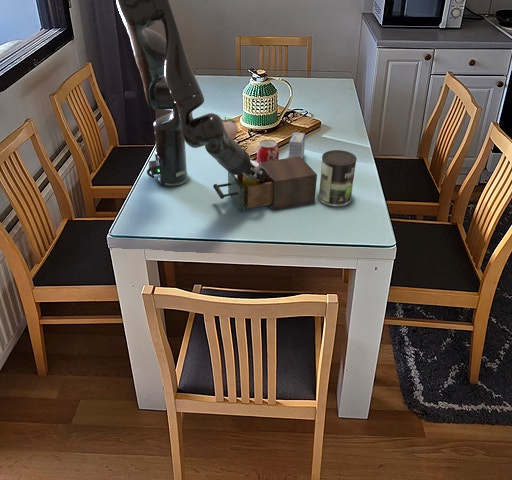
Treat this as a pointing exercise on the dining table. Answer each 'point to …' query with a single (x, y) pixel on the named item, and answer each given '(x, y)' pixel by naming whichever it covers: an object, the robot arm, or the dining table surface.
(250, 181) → the supplement bottle
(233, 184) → the drawer
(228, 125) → the decorative fruit
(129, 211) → the dining table surface
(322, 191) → the coffee can
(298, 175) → the cabinet
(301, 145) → the medicine box
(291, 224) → the dining table surface
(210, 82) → the dining table surface
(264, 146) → the soda can
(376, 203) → the dining table surface
